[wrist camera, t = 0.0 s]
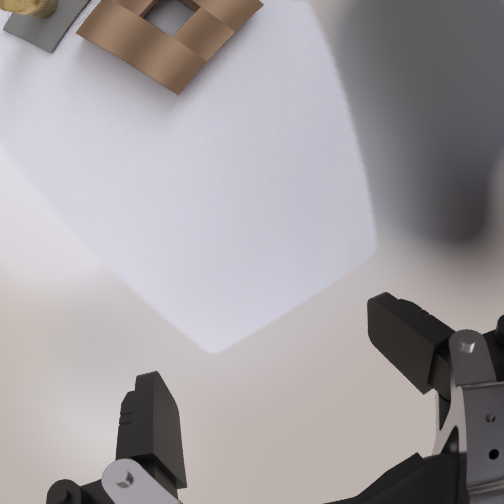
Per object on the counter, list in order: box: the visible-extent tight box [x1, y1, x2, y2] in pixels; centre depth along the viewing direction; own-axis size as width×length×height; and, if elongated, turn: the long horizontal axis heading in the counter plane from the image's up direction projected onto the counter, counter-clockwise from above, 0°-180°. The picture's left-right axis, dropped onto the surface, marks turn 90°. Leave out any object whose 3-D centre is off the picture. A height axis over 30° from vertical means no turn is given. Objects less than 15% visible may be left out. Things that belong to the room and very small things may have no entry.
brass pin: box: [0, 0, 58, 19], centre depth 13 cm, size 3×3×10 cm
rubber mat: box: [3, 0, 90, 53], centre depth 17 cm, size 9×9×1 cm
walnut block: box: [76, 0, 264, 95], centre depth 22 cm, size 14×14×4 cm
